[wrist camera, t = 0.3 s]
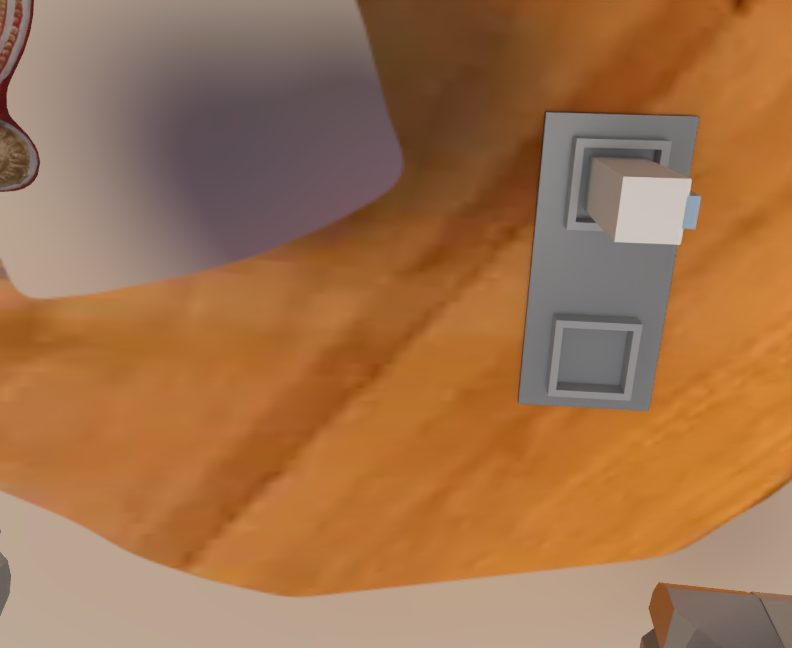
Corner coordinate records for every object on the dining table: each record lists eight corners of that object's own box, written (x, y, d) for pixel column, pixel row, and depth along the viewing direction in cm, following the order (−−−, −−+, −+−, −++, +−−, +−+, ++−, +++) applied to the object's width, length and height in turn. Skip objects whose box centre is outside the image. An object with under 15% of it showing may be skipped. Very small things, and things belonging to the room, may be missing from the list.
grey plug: (589, 155, 51) (623, 176, 40) (653, 157, 50) (704, 179, 40) (583, 208, 52) (614, 242, 42) (645, 211, 52) (692, 245, 41)
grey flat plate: (545, 112, 50) (549, 113, 48) (696, 116, 50) (707, 118, 47) (517, 400, 59) (520, 412, 57) (647, 407, 58) (654, 420, 56)
